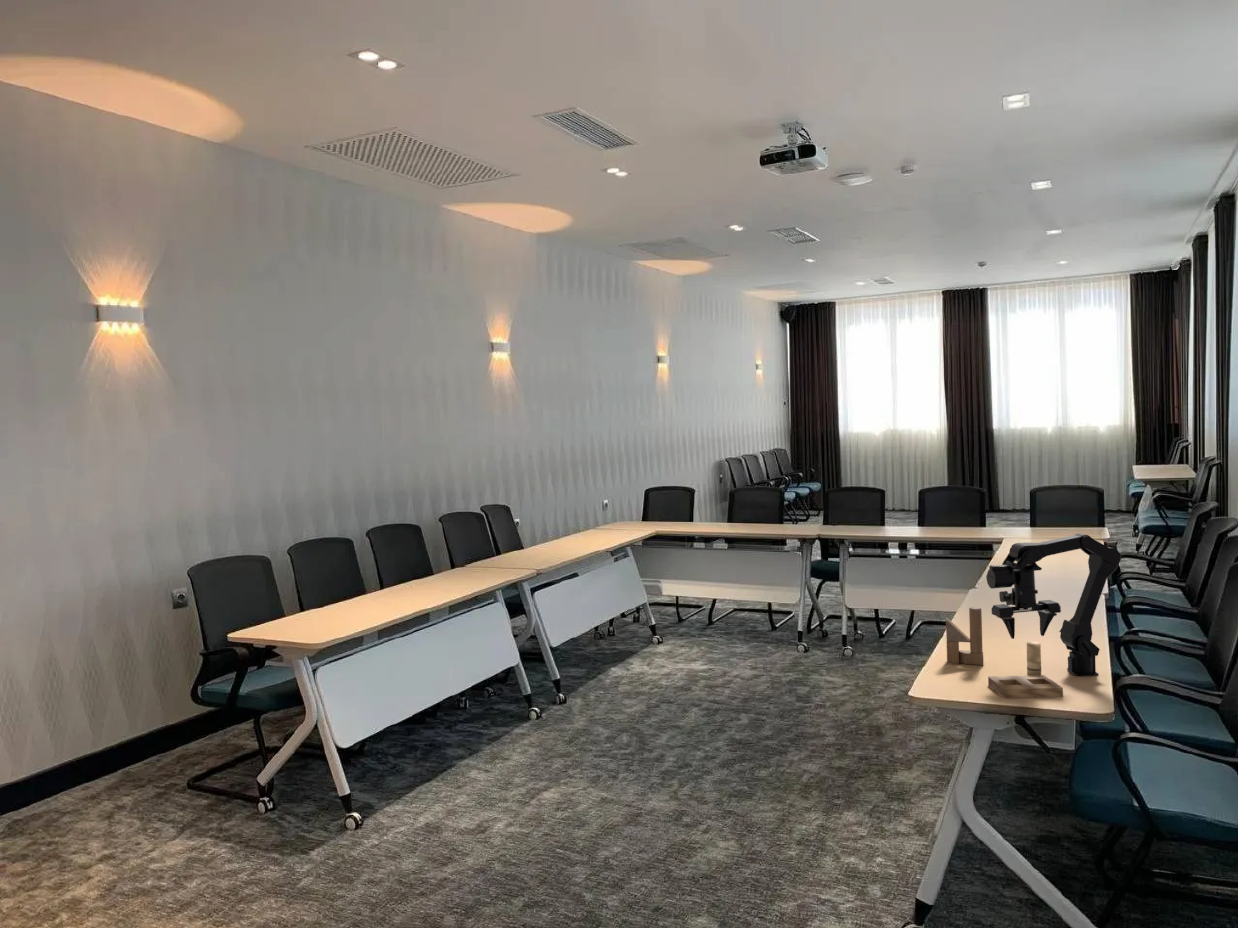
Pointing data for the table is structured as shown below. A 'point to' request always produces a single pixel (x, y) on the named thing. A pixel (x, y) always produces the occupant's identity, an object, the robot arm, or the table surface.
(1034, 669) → the dowel
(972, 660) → the wooden block structure
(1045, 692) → the board
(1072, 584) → the table surface
